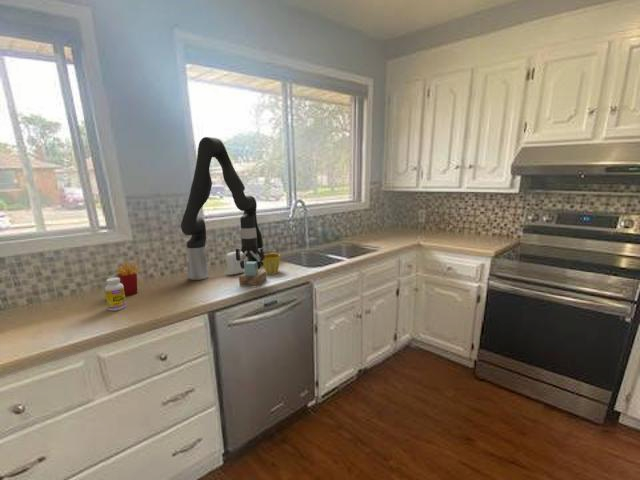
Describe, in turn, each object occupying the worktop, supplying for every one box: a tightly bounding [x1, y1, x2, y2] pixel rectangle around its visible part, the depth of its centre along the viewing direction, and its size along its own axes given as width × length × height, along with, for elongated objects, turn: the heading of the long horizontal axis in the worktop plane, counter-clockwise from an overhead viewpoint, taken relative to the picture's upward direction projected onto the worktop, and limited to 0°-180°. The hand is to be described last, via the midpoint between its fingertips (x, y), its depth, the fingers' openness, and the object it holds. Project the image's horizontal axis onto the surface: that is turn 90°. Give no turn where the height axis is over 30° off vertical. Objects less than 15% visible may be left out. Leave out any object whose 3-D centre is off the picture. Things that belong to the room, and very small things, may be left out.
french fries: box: [116, 262, 141, 297], centre depth 153 cm, size 9×8×15 cm
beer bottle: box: [246, 214, 264, 265], centre depth 199 cm, size 10×10×33 cm
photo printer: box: [225, 251, 246, 276], centre depth 180 cm, size 10×4×12 cm, turn 123°
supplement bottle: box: [104, 276, 127, 312], centre depth 135 cm, size 7×7×13 cm
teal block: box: [244, 261, 259, 276], centre depth 162 cm, size 5×5×6 cm
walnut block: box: [238, 270, 267, 288], centre depth 163 cm, size 10×10×5 cm
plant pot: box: [261, 253, 281, 275], centre depth 180 cm, size 10×10×10 cm
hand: (251, 268), depth 162 cm, fingers open, 8 cm apart
